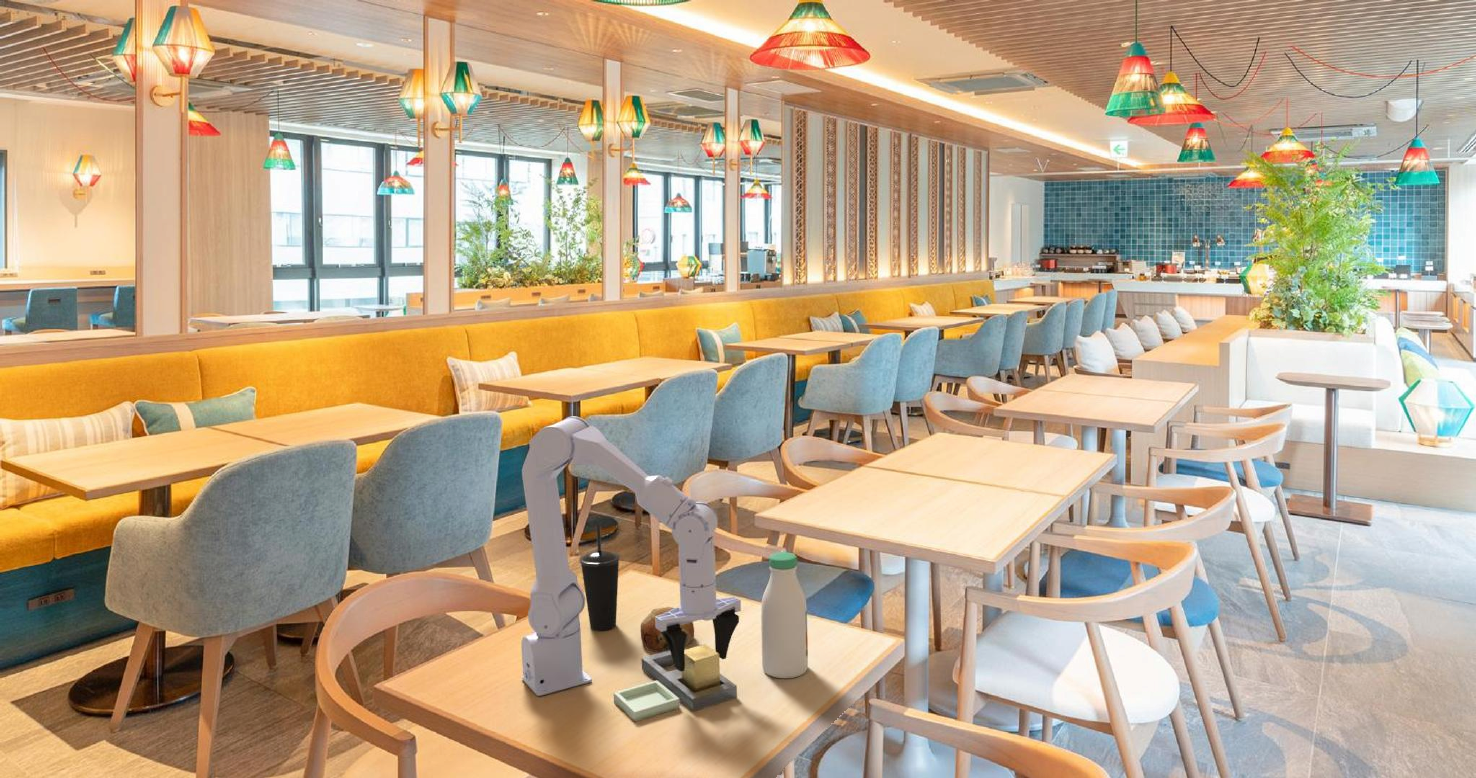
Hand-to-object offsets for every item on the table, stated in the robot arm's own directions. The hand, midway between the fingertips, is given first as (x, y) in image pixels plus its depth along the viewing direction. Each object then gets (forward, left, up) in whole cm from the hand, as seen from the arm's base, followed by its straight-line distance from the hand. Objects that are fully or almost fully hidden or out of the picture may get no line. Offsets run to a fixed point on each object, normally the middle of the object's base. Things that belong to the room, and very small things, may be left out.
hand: (700, 662), depth 152 cm
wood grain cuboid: (0, 0, -5) cm, 5 cm away
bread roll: (+5, +21, -6) cm, 23 cm away
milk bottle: (+16, 0, -5) cm, 17 cm away
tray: (-9, +2, -5) cm, 11 cm away
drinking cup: (-2, +35, -5) cm, 35 cm away
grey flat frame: (0, +5, -5) cm, 7 cm away
